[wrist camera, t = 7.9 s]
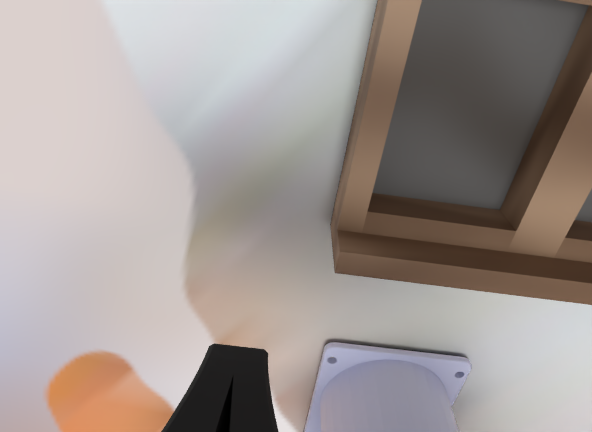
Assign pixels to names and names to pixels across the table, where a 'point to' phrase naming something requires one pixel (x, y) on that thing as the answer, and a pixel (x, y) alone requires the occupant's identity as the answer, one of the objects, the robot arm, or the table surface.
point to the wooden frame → (472, 149)
